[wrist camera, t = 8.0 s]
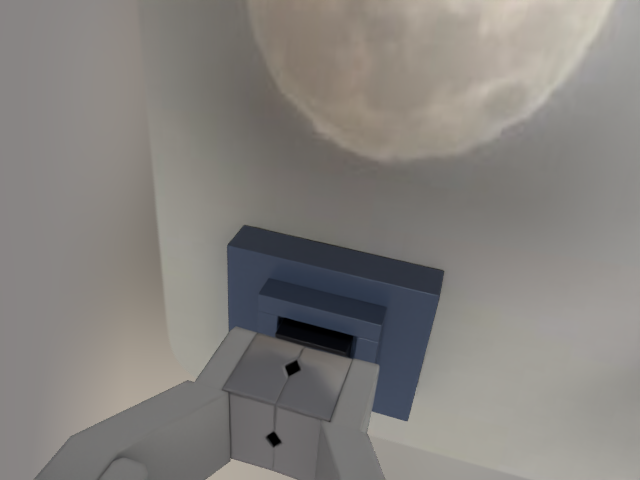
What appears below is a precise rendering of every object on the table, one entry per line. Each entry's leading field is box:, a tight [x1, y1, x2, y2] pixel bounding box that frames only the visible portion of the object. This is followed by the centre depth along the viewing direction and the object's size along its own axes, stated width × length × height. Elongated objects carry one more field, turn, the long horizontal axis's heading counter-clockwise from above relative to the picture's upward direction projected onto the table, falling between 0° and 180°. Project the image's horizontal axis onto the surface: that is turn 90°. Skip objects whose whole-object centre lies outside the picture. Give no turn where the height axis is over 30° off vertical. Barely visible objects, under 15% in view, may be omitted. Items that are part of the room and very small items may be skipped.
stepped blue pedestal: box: [227, 225, 444, 421], centre depth 32 cm, size 12×10×4 cm
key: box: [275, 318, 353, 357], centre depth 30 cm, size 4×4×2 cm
